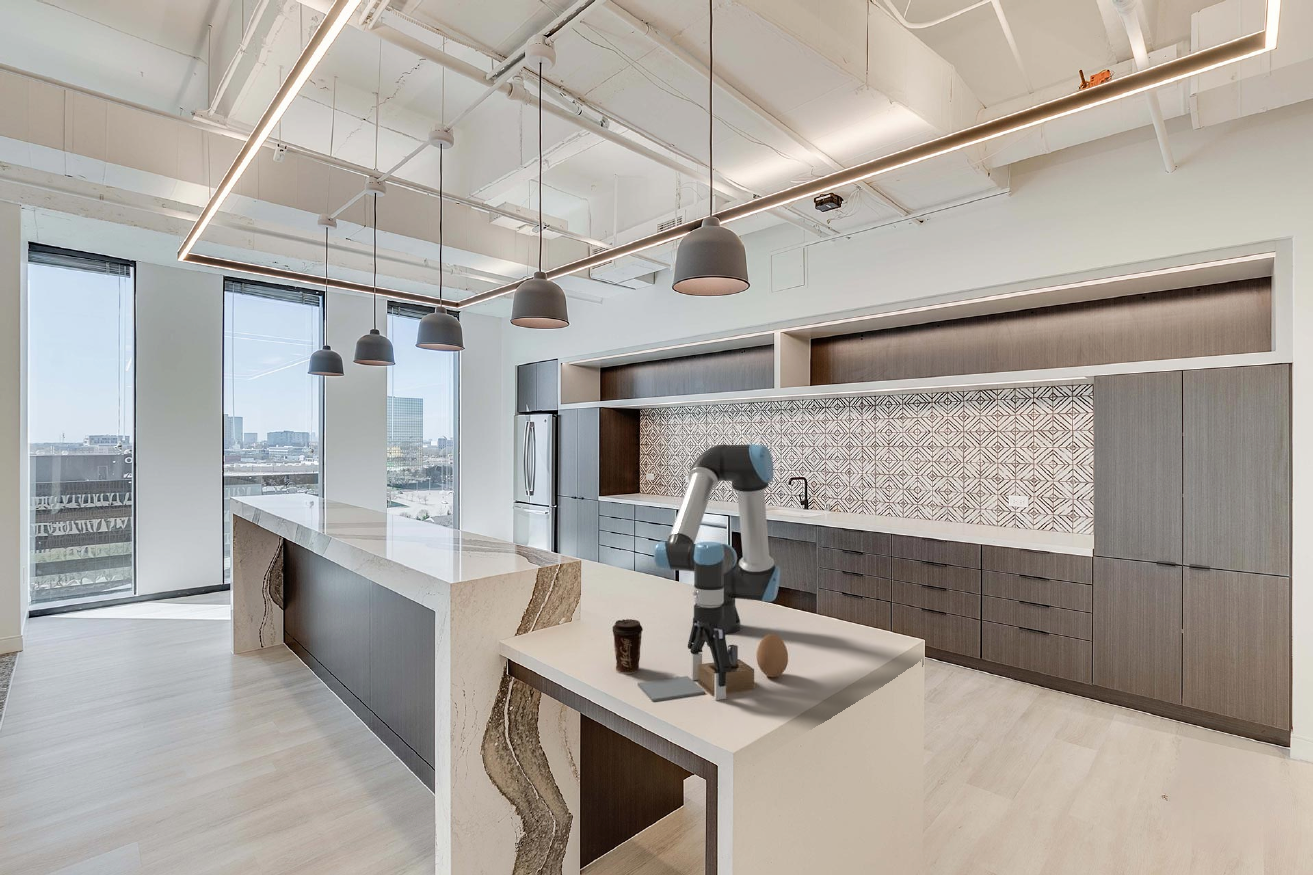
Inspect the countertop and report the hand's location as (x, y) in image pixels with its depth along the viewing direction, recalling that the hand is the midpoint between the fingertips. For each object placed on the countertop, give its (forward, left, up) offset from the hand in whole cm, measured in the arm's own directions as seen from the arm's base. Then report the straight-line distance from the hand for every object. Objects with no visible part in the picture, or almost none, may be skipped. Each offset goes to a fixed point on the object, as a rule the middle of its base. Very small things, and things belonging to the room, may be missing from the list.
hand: (707, 688), depth 155 cm
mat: (+9, -3, 0) cm, 9 cm away
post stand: (-7, 0, 0) cm, 7 cm away
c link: (-5, 0, 0) cm, 5 cm away
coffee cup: (+15, -20, 0) cm, 25 cm away
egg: (-20, -2, 0) cm, 20 cm away
